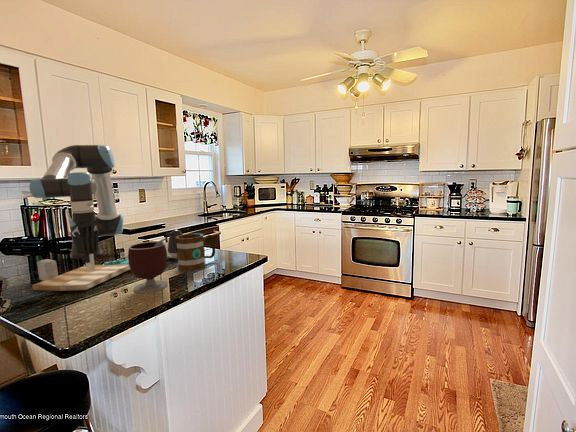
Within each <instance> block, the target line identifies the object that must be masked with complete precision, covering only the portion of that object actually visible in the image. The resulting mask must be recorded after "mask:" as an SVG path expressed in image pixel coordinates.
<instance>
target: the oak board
mask: <svg viewBox="0 0 576 432" xmlns="http://www.w3.org/2000/svg"><path fill="white" fill-rule="evenodd" d="M106 266H109V265H104V264H95V270H86V264H85V265H84V266H80V267H77V268H75V269H72V270H70V271H67V272H64V273H62V274H60V275H59V274H58V276H56V277H53V278H50V279H48V280H45V281H42V280H41V281H40V282H37V283H35V284H32V285H31V286H32V291H53V292H54V291H58V292H59V291H60V290H59V286H60V285H62V284H65V283H67V282H69V281H72V280H74V279H77V278H79V277H82V276H84V275H87V274H89V273H91V272H94V271H96V270H99V269H101V268H104V267H106Z"/></svg>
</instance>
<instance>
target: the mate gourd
mask: <svg viewBox="0 0 576 432" xmlns="http://www.w3.org/2000/svg"><path fill="white" fill-rule="evenodd" d="M166 240H168V238H167V237H165V238H162V239H160V240H158V241H145V242H139V243H135V244H131V245H129V247H128V253H127V254H128V255H127V259H128V261H129V266H130V269H129V270H130V271H131V273H132V274H133V275H134V276H135V277H136V278H139V279H144V280H146V281H145V282H141V283H140V284H137V285H135V286H134V287H133V291H134V292H135V293H138V294H149V293H154V292H159V291H162V290H163V289H165V288H167V287H168V285H169V284H168V282H167V281H166V280H160V279H158V280H155V279H156V277H158V276H160V275H162V274H163V273H164V272H165V270H166V268H167V265H168V250H167V246H166V245H165V242H164V241H166Z"/></svg>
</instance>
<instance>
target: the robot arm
mask: <svg viewBox="0 0 576 432" xmlns="http://www.w3.org/2000/svg"><path fill="white" fill-rule="evenodd" d="M115 167H116V163H115V158H114V155H113V152H112V149H111V147H109V146H108V145H104V144H103V145H101V144H87V145H86V144H84V145H81V144H74V145H70V146H65V147H63V148H62V149H60V150H58V151H57V152H56V153H55V154H54V155H53V157H52V158H51V164H50V166H49V167H48V168H47V170H46V171H45V173H44V175H43V176H42V177H41V178H37V179H36V178H35V179H31V180H30V181H29V185H28V186H29V193H30V194H31V197H33V198H34V199H47V198H49V199H50V198H64V197H66V198H67V197H69V198H70V208H71V212H73V213H72V214H71V215H72V218H71V219H70V220H69V228H70V232H69V234H70V236H71V243H72V246H71V250H70V254H69V257H70V259H71V260H72V259H73V260H82V259H83V260H84V264H85V265H86V270H95V265H96V264H95V259H96V257H98V256H100V255H102V249H101V248H100V245H99V237H107V236H109V237H110V236H117V235H121V234H122V233H123V230H124V215H123V214H121V213H120V211H119V210H117V206H116V202H115V195H114V190H113V183H112V179H111V172H112V171H113V168H115ZM74 169H86V171H87V172H86V171H84V172H83V171H81V172H71V171H74ZM94 194H95V199H96V203H97V208H98V209H97V210H98V213H97V214H96V212H95V211H94V210H95V203H94V196H93V195H94Z"/></svg>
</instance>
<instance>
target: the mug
mask: <svg viewBox="0 0 576 432" xmlns="http://www.w3.org/2000/svg"><path fill="white" fill-rule="evenodd" d="M209 238H211V240H212V243H211V250H212V252H211V255H205V246H204V243H205V242H207V241H208V239H209ZM176 243H177V257H178V258H177V262H178V265H177V267H178V268H177V270H178V271H184V272H189V271H197V270H200V269H203V268H205V267H206V262H205V259H212V258H213V257H215V255H216V254H215V253H216V239H215V236H214V235H212V234H208V235H206V236H205V237H204V233H187V234H186V233H185V234H183V235H180V236H176Z"/></svg>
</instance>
